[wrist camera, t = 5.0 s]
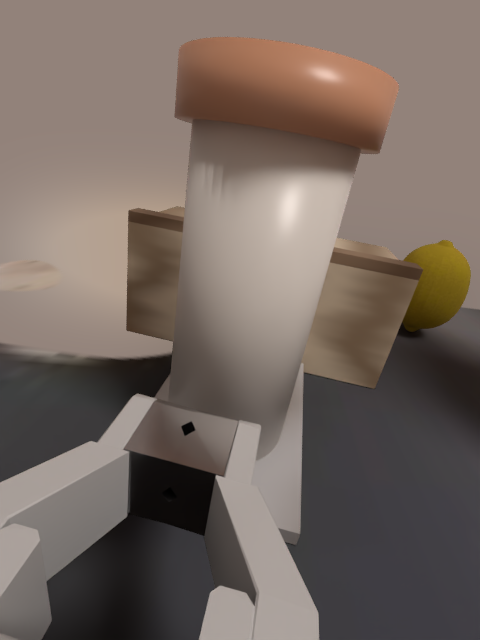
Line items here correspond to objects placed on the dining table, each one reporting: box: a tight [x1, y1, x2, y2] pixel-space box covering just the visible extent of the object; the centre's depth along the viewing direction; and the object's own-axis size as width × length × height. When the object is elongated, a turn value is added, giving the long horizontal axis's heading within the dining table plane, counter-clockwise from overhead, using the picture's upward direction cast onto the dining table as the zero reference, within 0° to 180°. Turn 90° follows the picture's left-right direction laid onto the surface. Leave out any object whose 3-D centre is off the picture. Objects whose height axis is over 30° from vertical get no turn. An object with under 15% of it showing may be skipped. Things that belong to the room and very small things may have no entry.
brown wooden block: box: [127, 207, 423, 545], centre depth 19 cm, size 16×19×8 cm
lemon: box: [402, 240, 471, 332], centre depth 28 cm, size 6×6×8 cm
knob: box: [168, 37, 399, 461], centre depth 12 cm, size 6×6×12 cm
